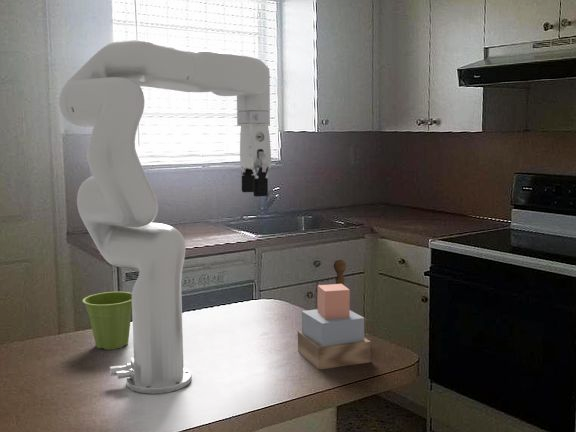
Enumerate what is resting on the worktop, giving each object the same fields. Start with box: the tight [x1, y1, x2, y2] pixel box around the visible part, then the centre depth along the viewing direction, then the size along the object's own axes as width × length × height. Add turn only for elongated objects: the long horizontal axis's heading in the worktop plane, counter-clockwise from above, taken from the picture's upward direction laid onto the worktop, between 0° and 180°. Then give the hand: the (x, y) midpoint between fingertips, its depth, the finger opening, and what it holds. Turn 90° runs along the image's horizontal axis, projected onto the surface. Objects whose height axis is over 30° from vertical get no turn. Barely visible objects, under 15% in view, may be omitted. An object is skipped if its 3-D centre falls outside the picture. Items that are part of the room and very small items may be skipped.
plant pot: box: [82, 291, 132, 351], centre depth 152 cm, size 12×12×11 cm
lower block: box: [297, 330, 372, 370], centre depth 144 cm, size 12×12×5 cm
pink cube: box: [316, 283, 351, 319], centre depth 142 cm, size 6×6×6 cm
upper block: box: [301, 308, 365, 347], centre depth 143 cm, size 10×10×5 cm
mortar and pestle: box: [333, 259, 347, 286], centre depth 160 cm, size 7×6×18 cm
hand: (254, 194), depth 153 cm, fingers open, 9 cm apart
